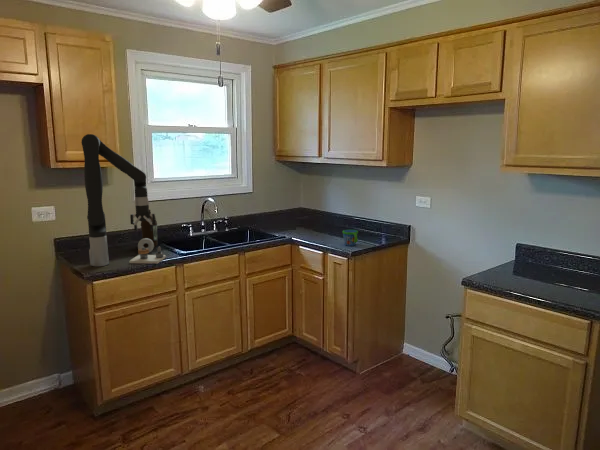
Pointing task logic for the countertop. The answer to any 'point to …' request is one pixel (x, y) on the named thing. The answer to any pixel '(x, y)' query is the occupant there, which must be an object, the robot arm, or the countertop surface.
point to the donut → (148, 241)
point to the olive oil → (147, 233)
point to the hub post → (159, 253)
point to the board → (149, 260)
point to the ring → (143, 251)
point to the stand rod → (143, 255)
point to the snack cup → (350, 237)
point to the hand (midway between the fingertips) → (144, 230)
